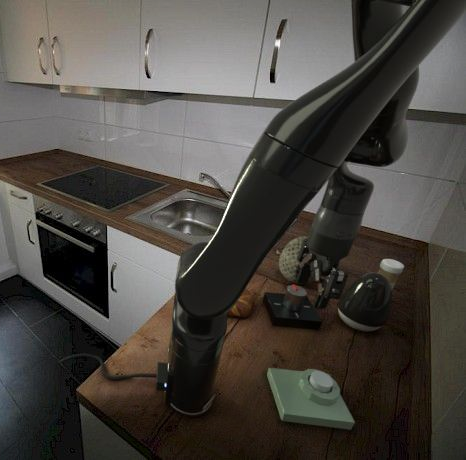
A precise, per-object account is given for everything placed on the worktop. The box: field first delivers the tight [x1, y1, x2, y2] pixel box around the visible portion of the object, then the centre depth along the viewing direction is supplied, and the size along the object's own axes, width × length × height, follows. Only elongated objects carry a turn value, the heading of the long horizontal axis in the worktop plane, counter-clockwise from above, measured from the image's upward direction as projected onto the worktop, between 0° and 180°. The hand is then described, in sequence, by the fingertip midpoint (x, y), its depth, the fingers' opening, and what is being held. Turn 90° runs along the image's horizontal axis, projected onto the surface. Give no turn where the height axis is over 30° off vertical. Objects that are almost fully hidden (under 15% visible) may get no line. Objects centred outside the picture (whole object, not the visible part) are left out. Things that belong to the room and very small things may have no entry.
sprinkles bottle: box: [377, 258, 405, 290], centre depth 84 cm, size 5×5×13 cm
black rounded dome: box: [337, 271, 393, 332], centre depth 77 cm, size 10×10×15 cm
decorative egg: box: [278, 235, 316, 285], centre depth 93 cm, size 12×12×15 cm
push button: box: [309, 370, 333, 393], centre depth 60 cm, size 4×4×2 cm
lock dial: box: [283, 283, 308, 311], centre depth 81 cm, size 4×4×5 cm
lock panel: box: [262, 291, 323, 331], centre depth 82 cm, size 11×10×3 cm
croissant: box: [228, 288, 256, 318], centre depth 86 cm, size 12×11×4 cm
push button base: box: [266, 367, 356, 431], centre depth 61 cm, size 12×10×4 cm
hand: (309, 294), depth 69 cm, fingers open, 8 cm apart
